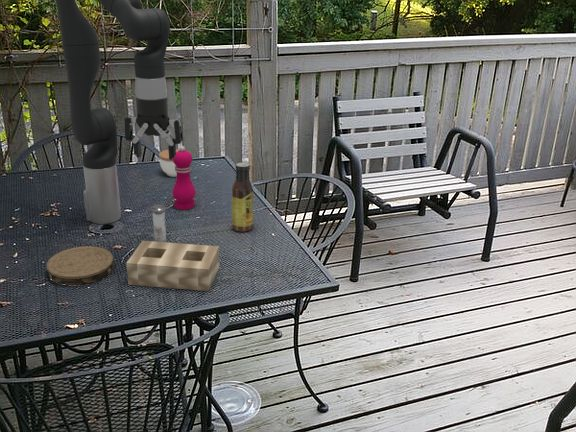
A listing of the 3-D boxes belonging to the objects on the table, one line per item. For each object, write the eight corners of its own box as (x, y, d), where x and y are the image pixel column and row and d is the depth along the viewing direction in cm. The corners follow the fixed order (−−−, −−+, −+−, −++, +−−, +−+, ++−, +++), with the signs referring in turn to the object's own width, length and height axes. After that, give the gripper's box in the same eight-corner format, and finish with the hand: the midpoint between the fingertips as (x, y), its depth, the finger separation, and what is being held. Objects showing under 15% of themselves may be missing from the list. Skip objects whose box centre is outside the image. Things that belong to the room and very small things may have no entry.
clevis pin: (150, 250, 158) (148, 210, 153) (155, 243, 162) (152, 204, 157) (166, 251, 157) (163, 211, 152) (170, 244, 161) (168, 205, 156)
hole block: (128, 284, 141) (126, 263, 139) (144, 260, 152) (142, 240, 150) (209, 291, 140) (208, 269, 137) (219, 266, 151) (218, 246, 148)
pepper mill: (168, 208, 184) (165, 147, 176) (180, 200, 190) (178, 141, 182) (188, 212, 182) (186, 151, 173) (200, 203, 188) (198, 144, 179)
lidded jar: (160, 179, 206) (158, 154, 202) (160, 169, 216) (158, 145, 212) (190, 178, 208) (189, 153, 205) (189, 168, 218) (188, 144, 214)
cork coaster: (91, 250, 157) (89, 240, 156) (127, 270, 148) (126, 260, 147) (35, 272, 146) (33, 261, 145) (71, 295, 137) (69, 284, 136)
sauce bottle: (249, 233, 169) (250, 169, 161) (229, 231, 170) (228, 167, 162) (255, 224, 175) (256, 162, 167) (235, 222, 176) (235, 160, 168)
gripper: (117, 96, 139) (123, 160, 146) (175, 99, 138) (178, 164, 145) (128, 89, 146) (133, 151, 153) (183, 93, 145) (186, 154, 152)
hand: (155, 157), depth 149 cm, fingers open, 8 cm apart
